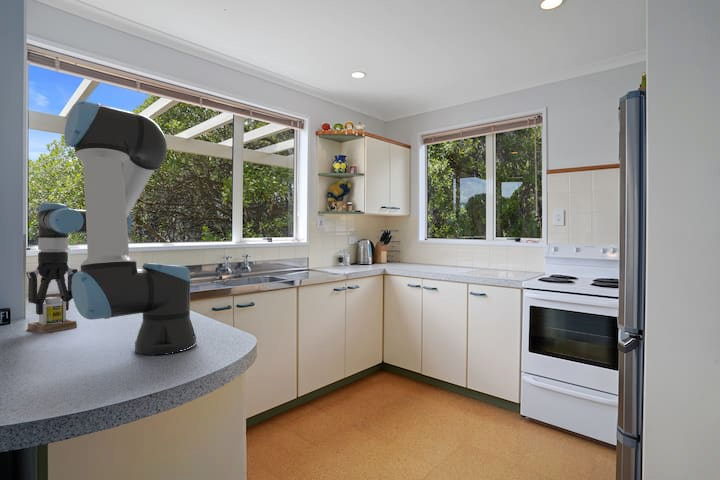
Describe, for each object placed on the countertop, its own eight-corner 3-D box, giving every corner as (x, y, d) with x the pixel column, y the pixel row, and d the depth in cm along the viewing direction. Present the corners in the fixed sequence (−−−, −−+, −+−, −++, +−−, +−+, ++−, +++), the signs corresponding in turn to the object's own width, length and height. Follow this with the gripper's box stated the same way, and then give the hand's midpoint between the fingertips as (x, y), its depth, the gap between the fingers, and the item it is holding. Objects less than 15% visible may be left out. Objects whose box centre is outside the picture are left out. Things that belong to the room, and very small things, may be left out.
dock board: (76, 327, 125) (76, 321, 125) (44, 333, 117) (44, 326, 117) (59, 323, 129) (59, 318, 129) (27, 329, 121) (27, 323, 121)
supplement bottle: (53, 325, 121) (54, 299, 121) (39, 325, 121) (39, 298, 121) (65, 321, 126) (65, 296, 125) (51, 321, 126) (51, 296, 125)
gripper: (76, 250, 133) (76, 316, 133) (12, 251, 116) (12, 327, 117) (89, 250, 129) (89, 318, 130) (25, 252, 113) (25, 329, 113)
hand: (52, 322), depth 123 cm, fingers closed on supplement bottle, 5 cm apart
